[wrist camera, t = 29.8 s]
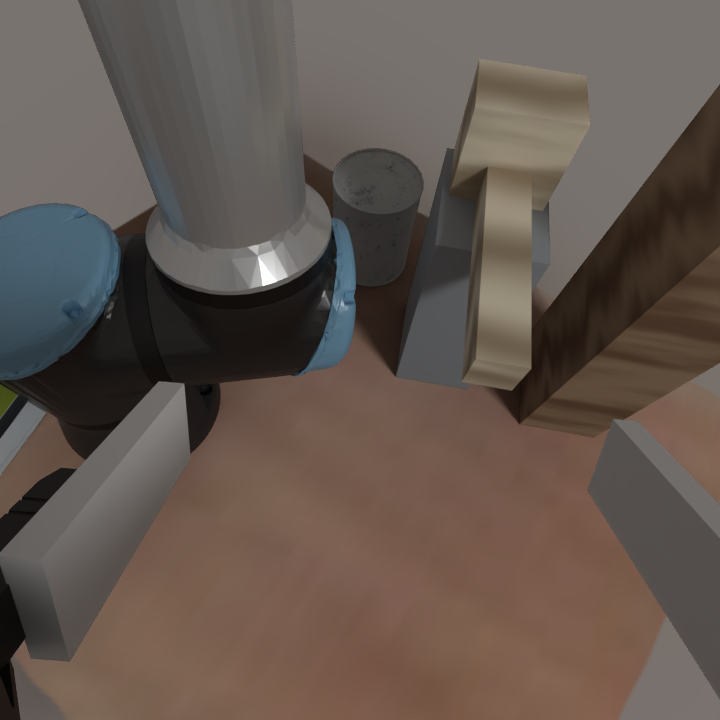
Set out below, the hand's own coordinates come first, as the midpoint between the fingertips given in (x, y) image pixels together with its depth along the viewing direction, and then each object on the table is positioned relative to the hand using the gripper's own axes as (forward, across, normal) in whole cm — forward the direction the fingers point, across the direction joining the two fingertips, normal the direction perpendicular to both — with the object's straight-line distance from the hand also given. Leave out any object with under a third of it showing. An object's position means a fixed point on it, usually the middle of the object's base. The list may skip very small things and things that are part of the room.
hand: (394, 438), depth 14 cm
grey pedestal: (+38, +8, -12) cm, 40 cm away
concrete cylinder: (+47, -1, -4) cm, 48 cm away
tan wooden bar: (+20, +8, +2) cm, 22 cm away
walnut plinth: (+35, +21, -15) cm, 43 cm away
